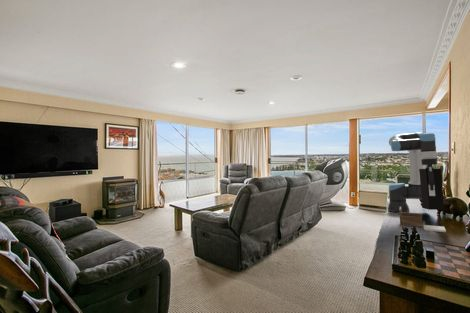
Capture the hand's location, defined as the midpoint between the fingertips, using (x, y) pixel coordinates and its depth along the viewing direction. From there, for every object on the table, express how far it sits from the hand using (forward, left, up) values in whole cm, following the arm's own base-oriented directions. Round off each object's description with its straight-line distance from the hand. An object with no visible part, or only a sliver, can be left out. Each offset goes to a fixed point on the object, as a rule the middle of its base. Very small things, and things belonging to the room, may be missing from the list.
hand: (431, 194), depth 147 cm
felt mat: (0, 0, -21) cm, 21 cm away
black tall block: (0, 0, -9) cm, 9 cm away
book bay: (-10, -11, -21) cm, 26 cm away
